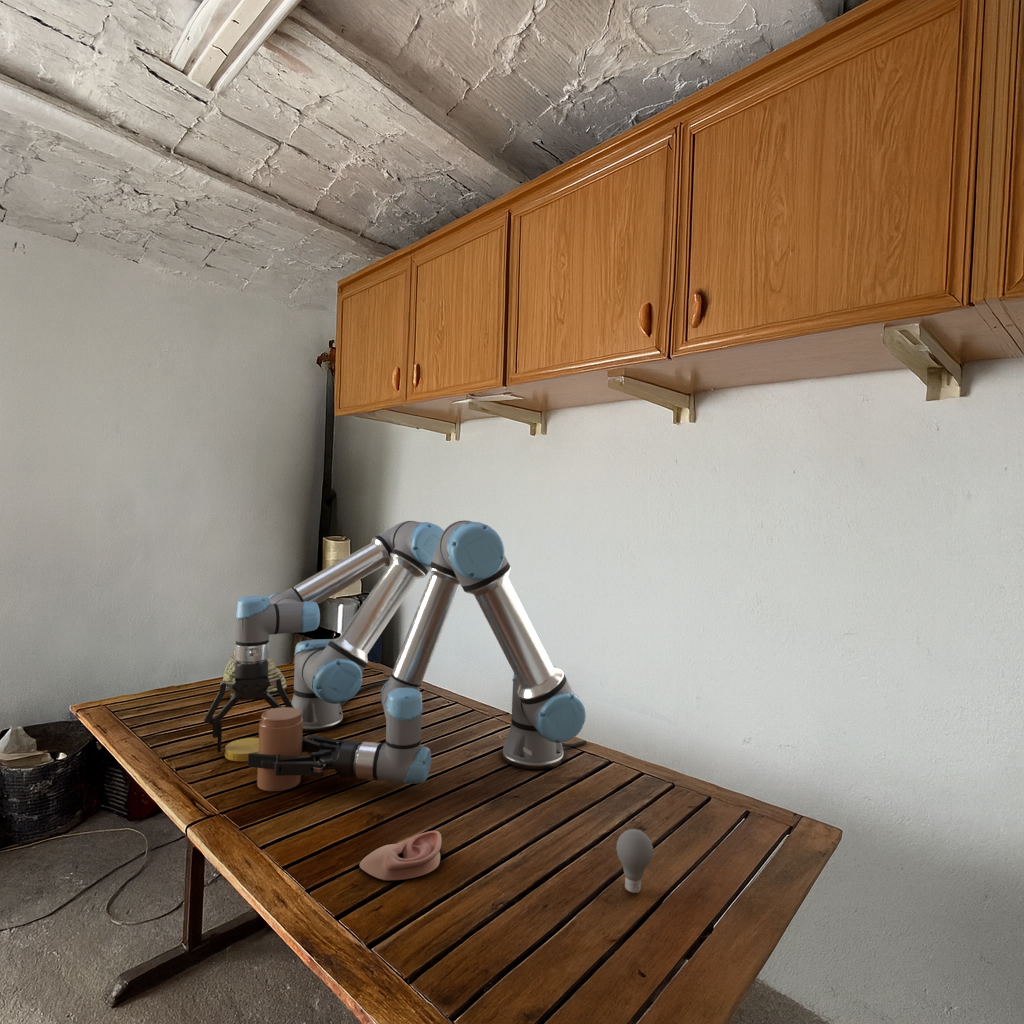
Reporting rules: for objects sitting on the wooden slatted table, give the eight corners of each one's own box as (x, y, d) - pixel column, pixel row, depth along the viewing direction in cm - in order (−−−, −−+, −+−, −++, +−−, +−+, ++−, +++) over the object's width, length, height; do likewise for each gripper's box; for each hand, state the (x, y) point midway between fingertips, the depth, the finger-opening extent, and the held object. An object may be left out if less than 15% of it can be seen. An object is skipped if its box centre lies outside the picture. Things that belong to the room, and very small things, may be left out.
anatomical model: (352, 851, 106) (379, 818, 118) (351, 875, 106) (379, 839, 118) (427, 864, 104) (448, 829, 115) (426, 888, 104) (447, 850, 115)
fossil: (218, 695, 195) (220, 647, 195) (278, 685, 208) (279, 640, 207) (228, 703, 189) (230, 653, 188) (289, 692, 201) (290, 645, 201)
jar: (263, 772, 144) (266, 706, 144) (304, 772, 145) (307, 706, 144) (251, 791, 135) (253, 720, 134) (295, 791, 136) (298, 720, 135)
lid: (255, 763, 148) (255, 755, 148) (215, 759, 150) (215, 751, 150) (277, 747, 158) (278, 739, 158) (240, 743, 160) (240, 735, 160)
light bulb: (610, 879, 108) (613, 822, 108) (644, 879, 109) (647, 822, 109) (619, 902, 102) (622, 840, 102) (655, 901, 103) (658, 840, 103)
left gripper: (193, 668, 146) (191, 759, 146) (306, 660, 155) (304, 746, 156) (196, 659, 153) (194, 746, 153) (304, 653, 162) (302, 735, 163)
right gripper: (339, 800, 127) (233, 789, 129) (374, 756, 149) (283, 748, 151) (340, 763, 127) (234, 753, 129) (375, 725, 149) (284, 717, 151)
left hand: (250, 746), depth 154 cm, fingers open, 13 cm apart
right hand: (260, 750), depth 140 cm, fingers closed on jar, 9 cm apart
